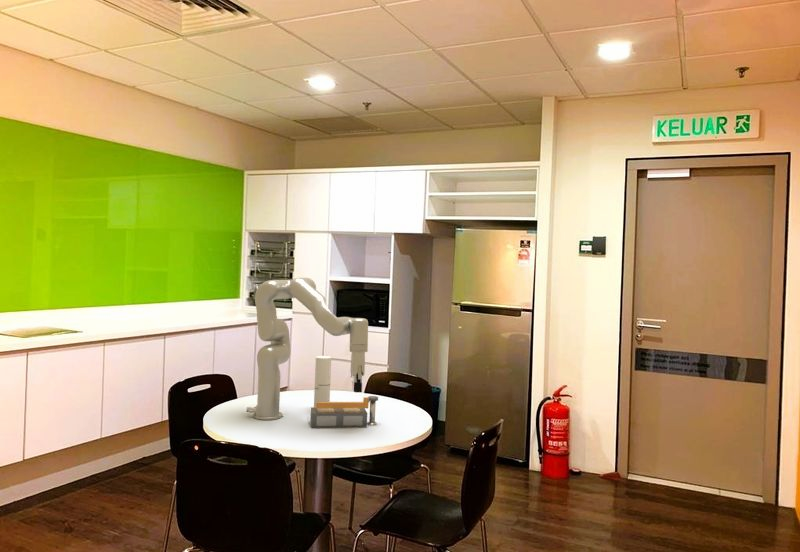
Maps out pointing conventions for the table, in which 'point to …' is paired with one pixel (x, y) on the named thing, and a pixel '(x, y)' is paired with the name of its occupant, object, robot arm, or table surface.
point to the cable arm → (346, 404)
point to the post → (372, 413)
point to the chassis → (338, 418)
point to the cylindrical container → (322, 379)
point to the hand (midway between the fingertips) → (357, 391)
